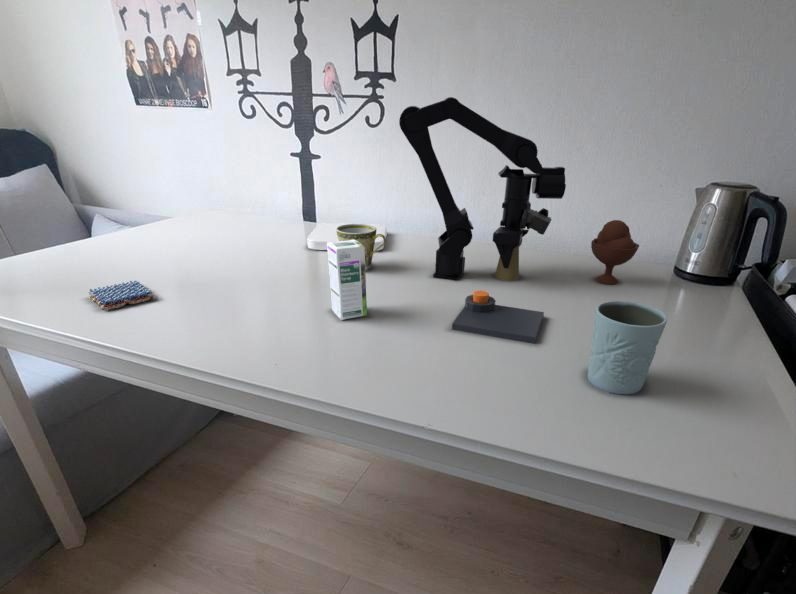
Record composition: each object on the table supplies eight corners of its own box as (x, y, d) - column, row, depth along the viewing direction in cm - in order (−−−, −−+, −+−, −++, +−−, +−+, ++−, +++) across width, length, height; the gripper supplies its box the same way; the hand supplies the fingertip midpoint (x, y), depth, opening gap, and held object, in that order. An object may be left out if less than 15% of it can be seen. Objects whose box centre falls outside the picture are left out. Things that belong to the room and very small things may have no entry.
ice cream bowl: (633, 290, 117) (650, 226, 109) (585, 285, 118) (598, 223, 111) (626, 276, 126) (641, 216, 118) (581, 272, 127) (593, 213, 120)
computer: (382, 252, 138) (382, 242, 137) (305, 250, 138) (304, 240, 137) (387, 233, 157) (387, 224, 156) (319, 231, 157) (319, 222, 156)
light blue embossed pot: (639, 404, 74) (661, 332, 67) (573, 384, 78) (588, 315, 72) (650, 376, 81) (672, 309, 75) (589, 359, 85) (605, 295, 79)
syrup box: (341, 321, 97) (336, 248, 89) (331, 310, 101) (326, 240, 94) (367, 316, 99) (365, 245, 92) (356, 306, 104) (354, 237, 96)
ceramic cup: (331, 270, 124) (328, 230, 119) (350, 259, 132) (348, 222, 127) (377, 277, 120) (376, 236, 115) (393, 266, 128) (393, 227, 123)
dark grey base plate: (451, 329, 95) (452, 315, 93) (468, 305, 106) (469, 292, 104) (534, 344, 90) (536, 329, 89) (543, 317, 101) (545, 303, 100)
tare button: (471, 302, 100) (471, 294, 99) (474, 297, 103) (475, 289, 102) (486, 305, 99) (487, 296, 98) (489, 299, 102) (490, 291, 101)
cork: (520, 274, 125) (526, 231, 119) (516, 281, 120) (523, 236, 114) (497, 271, 126) (502, 228, 121) (492, 278, 121) (497, 234, 116)
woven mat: (139, 286, 110) (137, 278, 109) (157, 300, 104) (154, 291, 103) (88, 297, 104) (85, 288, 103) (103, 312, 98) (100, 303, 97)
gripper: (547, 208, 103) (536, 279, 111) (556, 194, 118) (546, 257, 127) (495, 204, 107) (488, 273, 115) (510, 190, 122) (504, 252, 130)
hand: (509, 263), depth 121 cm, fingers closed on cork, 8 cm apart
